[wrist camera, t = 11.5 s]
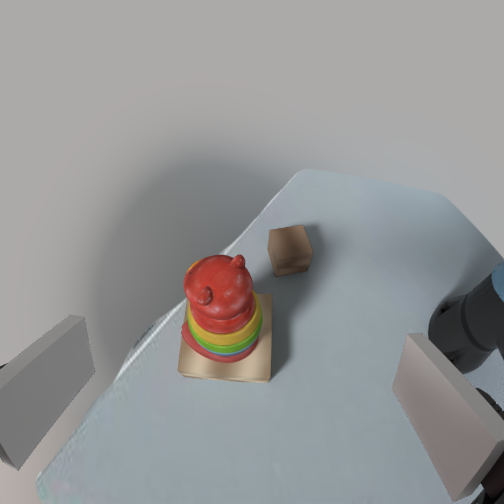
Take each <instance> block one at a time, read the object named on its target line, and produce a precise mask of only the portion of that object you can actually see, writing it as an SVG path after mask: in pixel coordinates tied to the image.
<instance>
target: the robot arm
mask: <svg viewBox="0 0 504 504" xmlns="http://www.w3.org/2000/svg"><path fill="white" fill-rule="evenodd" d="M428 336H429V339H428V338H427V337H426V336H425V335H424V334H423V333H415V334H407V336H406V340H405V344H404V348H403V352H402V355H401V359H400V363H399V366H398V369H397V373H396V376H395V379H394V382H393V386H392V390H393V392H394V394H395V396H396V397H397V399H398V401H399V403H400V404H401V406H402V408H403V410H404V411H405V413H406V415H407V417H408V418H409V420H410V422H411V424H412V425H413V427H414V429H415V431H416V433H417V435H418V436H419V438H420V440H421V442H422V444H423V445H424V447H425V449H426V451H427V453H428V455H429V457H430V458H431V460H432V462H433V464H434V466H435V468H436V470H437V472H438V474H439V476H440V478H441V479H442V481H443V483H444V485H445V487H446V489H447V491H448V493H449V495H450V497H451V499H452V501H453V502H454V501H457V500H459V499H462V498H464V497H467V496H469V495H471V494H472V493H473V492H474V491H475V489H476V488H477V487H478V486H479V484H480V483H481V484H482V486H483V488H484V489H483V491H482V492H481V493H480V494H479V495H478V496H477V497H476V499H475V500H474V501H473V502H472V503H471V504H476V503H477V504H504V411H502V409H501V407H500V406H499V405H498V404H496V402H495V401H494V400H493V399H492V398H491V396H490V395H489V394H487V393H486V392H484V391H482V390H481V389H479V388H475V387H474V386H473V385H472V384H471V383H470V382H469V381H468V380H467V379H466V378H465V377H464V376H463V374H466V373H469V372H471V371H473V370H475V369H477V368H478V367H479V366H481V365H482V364H483V363H484V361H485V360H486V359H487V358H488V357H489V356H490V354H491V353H492V352H493V351H494V350H495V349H497V348H498V349H499V351H500V353H501V355H502V357H503V359H504V262H503V263H501V264H499V265H497V266H496V267H495V268H494V270H493V272H492V273H491V274H490V275H489V276H488V277H487V278H486V279H484V280H483V281H482V282H481V283H480V284H479V285H478V286H476V287H475V288H474V289H473V290H472V291H471V292H470V293H468V294H467V295H463V296H459V297H456V298H452V299H449V300H447V301H446V302H444V303H443V304H442V305H441V306H439V307H438V308H437V309H436V310H435V312H434V313H433V315H432V317H431V320H430V323H429V330H428ZM94 373H95V368H94V364H93V359H92V354H91V349H90V344H89V339H88V334H87V328H86V323H85V317H81V316H75V315H69V316H68V317H67V318H66V319H64V320H63V321H62V322H60V323H59V324H57V325H56V326H55V327H54V328H52V329H51V330H50V331H48V332H47V333H46V334H44V335H43V336H42V337H41V338H39V339H38V340H37V341H35V342H34V343H33V344H31V345H30V346H29V347H28V348H26V349H25V350H24V351H23V352H21V353H20V354H19V355H18V356H17V357H15V358H14V359H13V360H12V361H10V362H9V363H7V364H4V365H2V366H0V458H1V460H2V461H3V462H4V463H5V464H7V465H9V466H10V467H12V468H14V469H16V470H17V471H19V469H20V468H21V466H22V465H23V464H24V462H25V461H26V460H27V459H28V457H29V456H30V454H31V453H32V452H33V450H34V449H35V448H36V446H37V445H38V444H39V442H40V441H41V440H42V439H43V437H44V436H45V435H46V433H47V432H48V431H49V429H50V428H51V427H52V426H53V424H54V423H55V422H56V420H57V419H58V418H59V417H60V415H61V414H62V413H63V412H64V410H65V409H66V408H67V407H68V405H69V404H70V403H71V402H72V400H73V399H74V398H75V396H76V395H77V394H78V393H79V392H80V390H81V389H82V388H83V387H84V385H85V384H86V383H87V382H88V381H89V379H90V378H91V377H92V375H93V374H94Z"/></svg>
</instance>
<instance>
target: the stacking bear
mask: <svg viewBox="0 0 504 504" xmlns="http://www.w3.org/2000/svg"><path fill="white" fill-rule="evenodd" d="M184 291H185V294H186V296H187V298H188V300H189V307H188V320H187V321H186V322H185V323H184V324H183V325H182V332H181V334H182V337H183V339H184V340H185V342H186V343H187V344H188V345H189V346H190V347H191V348H192V349H193V350H194V351H196V352H197V353H198V354H200V355H202V356H203V357H205V358H208V359H210V360H213V361H216V362H222V363H234V362H238V361H240V360H243V359H244V358H246V357H247V356H249V355H250V354H251V353H252V352H253V350H254V349H255V347H256V345H257V343H258V340H259V334H260V331H261V328H262V322H263V315H262V308H261V304H260V302H259V300H258V297H257V295H256V293H255V291H254V290H253V283H252V278H251V276H250V273H249V272H248V270H247V268H246V267H245V259H244V257H243V256H242V255H237V256H235V257H234V258H232V257H230V256H227V255H214V256H209V257H206V258H203V259H201V260H199V261H197V262H195V263H193V264H192V265H191V266H190V268H189V269H188V271H187V273H186V275H185V278H184Z"/></svg>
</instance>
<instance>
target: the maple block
mask: <svg viewBox="0 0 504 504" xmlns="http://www.w3.org/2000/svg"><path fill="white" fill-rule="evenodd" d="M256 295H257V297H258V300H259V302H260V304H261V308H262V315H263V322H262V328H261V331H260V334H259V340H258V343H257V345H256V347H255V349H254V350H253V352H252V353H251V354H250V355H249V356H247V357H246V358H244V359H243V360H240V361H238V362H234V363H222V362H216V361H213V360H210V359H208V358H205V357H203V356H202V355H200V354H198V353H197V352H196V351H194V350H193V349H192V348H191V347H190V346H189V345H188V344H187V343H186V342H185V340H184V339H183V337H182V339H181V347H180V355H179V363H178V371H179V372H180V373H181V374H182V375H183V376H184V377H190V378H200V379H211V380H223V381H238V382H257V383H268V382H269V379H270V373H271V337H272V294H260V293H256ZM188 307H189V300H188V298H187V304H186V311H185V318H184V323H185V322H186V321H187V320H188Z"/></svg>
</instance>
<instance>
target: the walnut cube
mask: <svg viewBox="0 0 504 504" xmlns="http://www.w3.org/2000/svg"><path fill="white" fill-rule="evenodd" d="M268 252H269V256H270V259H271V263H272V266H273V270H274V273H275V277H278V276H283V275H288V274H294V273H299V272H304V271H308V268H309V265H310V262H311V259H312V256H313V250H312V248H311V245H310V243H309V240H308V237H307V235H306V232H305V229H304V227H303V225H298V226H292V227H285V228H279V229H272V230H270V231H269V241H268Z"/></svg>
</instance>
